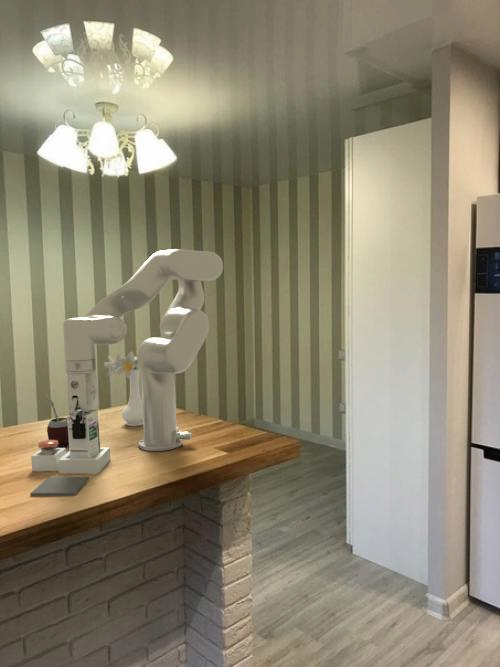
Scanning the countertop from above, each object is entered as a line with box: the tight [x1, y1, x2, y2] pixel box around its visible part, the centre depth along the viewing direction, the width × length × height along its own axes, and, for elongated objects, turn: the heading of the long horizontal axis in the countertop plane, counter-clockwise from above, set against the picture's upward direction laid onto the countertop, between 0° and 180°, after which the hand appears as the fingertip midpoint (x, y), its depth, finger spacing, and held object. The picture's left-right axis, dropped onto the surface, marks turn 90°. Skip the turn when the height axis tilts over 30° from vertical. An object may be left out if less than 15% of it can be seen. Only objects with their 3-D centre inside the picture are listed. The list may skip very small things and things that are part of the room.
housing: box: [30, 446, 111, 475], centre depth 136 cm, size 18×10×4 cm, turn 88°
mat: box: [29, 476, 90, 497], centre depth 123 cm, size 10×10×1 cm
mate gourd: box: [44, 394, 69, 448], centre depth 154 cm, size 8×8×15 cm
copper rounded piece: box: [38, 439, 58, 455], centre depth 136 cm, size 5×5×6 cm
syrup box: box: [66, 409, 101, 458], centre depth 136 cm, size 6×6×14 cm
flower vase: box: [103, 351, 143, 427], centre depth 177 cm, size 13×18×25 cm
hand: (84, 434), depth 136 cm, fingers closed on syrup box, 6 cm apart
